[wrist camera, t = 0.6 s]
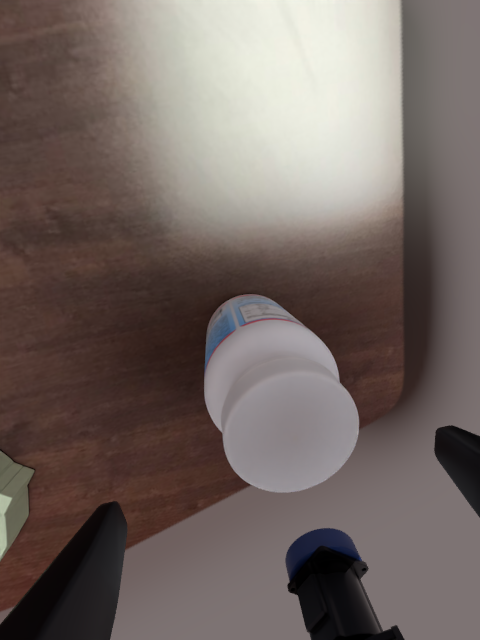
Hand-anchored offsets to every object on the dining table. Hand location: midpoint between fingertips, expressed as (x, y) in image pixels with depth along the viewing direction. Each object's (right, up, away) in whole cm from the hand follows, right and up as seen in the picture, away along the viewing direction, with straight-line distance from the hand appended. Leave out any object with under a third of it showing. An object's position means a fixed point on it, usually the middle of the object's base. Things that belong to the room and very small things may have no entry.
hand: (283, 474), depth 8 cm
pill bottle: (0, +3, +12) cm, 13 cm away
